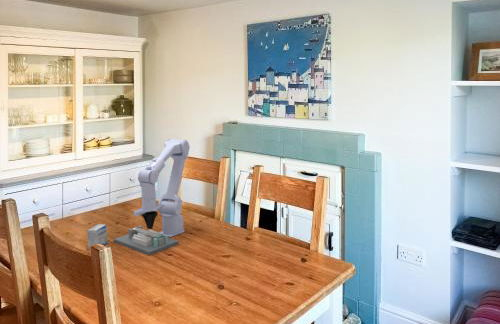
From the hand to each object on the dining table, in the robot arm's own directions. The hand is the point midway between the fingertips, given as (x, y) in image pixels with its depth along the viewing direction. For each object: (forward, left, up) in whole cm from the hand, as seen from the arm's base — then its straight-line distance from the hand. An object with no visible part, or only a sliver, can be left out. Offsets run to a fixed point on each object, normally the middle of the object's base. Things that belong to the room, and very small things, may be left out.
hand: (149, 228), depth 184 cm
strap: (0, -2, -3) cm, 4 cm away
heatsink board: (0, -3, -7) cm, 8 cm away
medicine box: (+15, -16, -8) cm, 23 cm away
